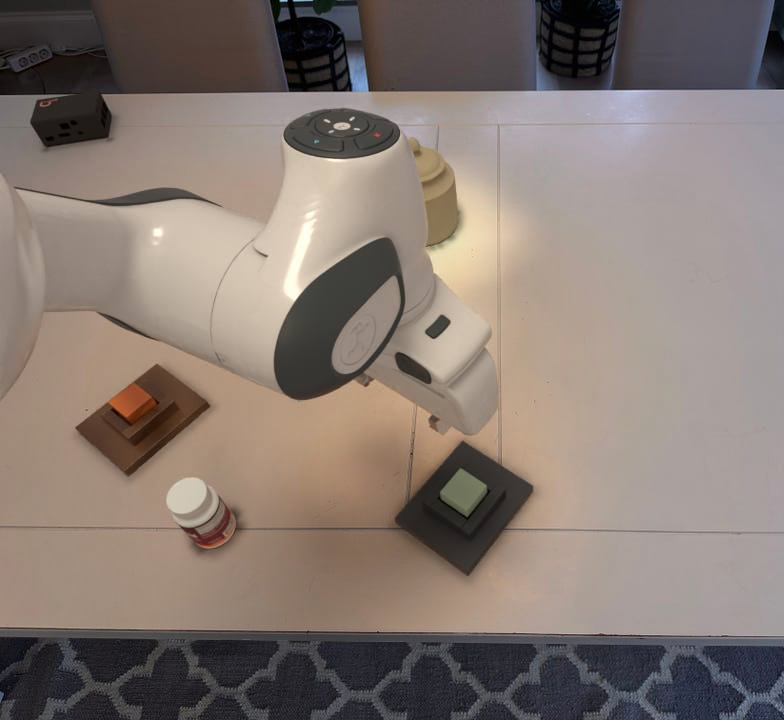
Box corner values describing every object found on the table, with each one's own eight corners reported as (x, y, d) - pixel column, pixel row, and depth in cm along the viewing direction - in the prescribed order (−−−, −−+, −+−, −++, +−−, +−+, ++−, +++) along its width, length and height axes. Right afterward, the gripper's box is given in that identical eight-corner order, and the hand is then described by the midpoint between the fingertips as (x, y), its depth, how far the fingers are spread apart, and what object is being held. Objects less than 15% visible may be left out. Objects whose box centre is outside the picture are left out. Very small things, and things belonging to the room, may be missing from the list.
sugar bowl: (456, 265, 98) (449, 180, 86) (380, 266, 98) (363, 182, 86) (459, 198, 107) (453, 113, 95) (390, 199, 107) (375, 115, 95)
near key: (467, 518, 71) (466, 510, 69) (440, 499, 72) (439, 492, 71) (487, 492, 73) (487, 485, 71) (461, 475, 74) (460, 467, 73)
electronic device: (108, 138, 120) (94, 112, 116) (45, 147, 118) (29, 122, 114) (112, 115, 124) (99, 89, 120) (51, 124, 123) (36, 99, 119)
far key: (132, 425, 79) (126, 417, 78) (114, 410, 81) (107, 402, 79) (157, 404, 81) (151, 396, 80) (139, 390, 82) (133, 382, 81)
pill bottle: (185, 527, 74) (153, 493, 67) (223, 500, 76) (196, 464, 69) (205, 558, 72) (174, 526, 65) (244, 530, 74) (218, 496, 67)
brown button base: (128, 476, 78) (116, 463, 76) (79, 432, 82) (66, 419, 80) (210, 406, 84) (201, 392, 81) (160, 368, 88) (151, 354, 85)
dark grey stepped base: (468, 576, 70) (467, 565, 67) (395, 522, 74) (392, 511, 71) (533, 490, 75) (534, 478, 73) (462, 445, 79) (461, 432, 77)
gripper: (260, 274, 55) (301, 374, 66) (459, 391, 47) (468, 481, 58) (314, 231, 58) (344, 333, 69) (509, 334, 50) (509, 430, 61)
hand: (402, 402), depth 64 cm, fingers open, 8 cm apart
